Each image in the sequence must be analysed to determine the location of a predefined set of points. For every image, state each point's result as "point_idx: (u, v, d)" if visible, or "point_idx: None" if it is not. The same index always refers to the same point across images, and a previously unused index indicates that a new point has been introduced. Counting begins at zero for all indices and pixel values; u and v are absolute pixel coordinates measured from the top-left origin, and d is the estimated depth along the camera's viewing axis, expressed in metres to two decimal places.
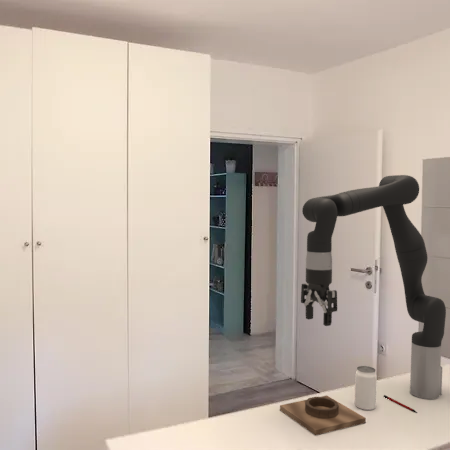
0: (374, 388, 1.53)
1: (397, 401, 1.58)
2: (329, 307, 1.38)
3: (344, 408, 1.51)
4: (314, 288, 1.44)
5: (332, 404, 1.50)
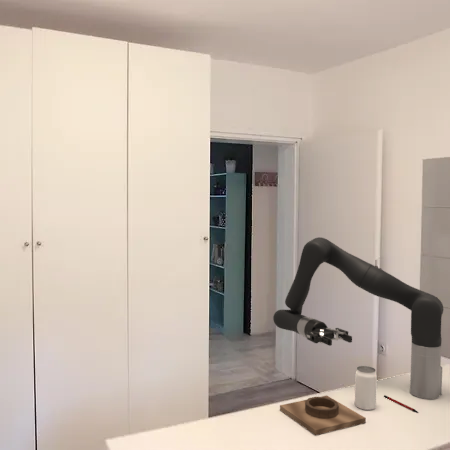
0: (374, 388, 1.53)
1: (397, 401, 1.59)
2: None
3: (344, 408, 1.51)
4: None
5: (332, 404, 1.50)
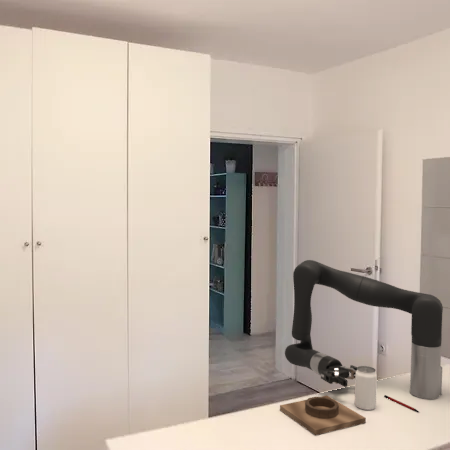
0: (374, 388, 1.53)
1: (398, 401, 1.59)
2: None
3: (344, 408, 1.51)
4: None
5: (332, 404, 1.50)
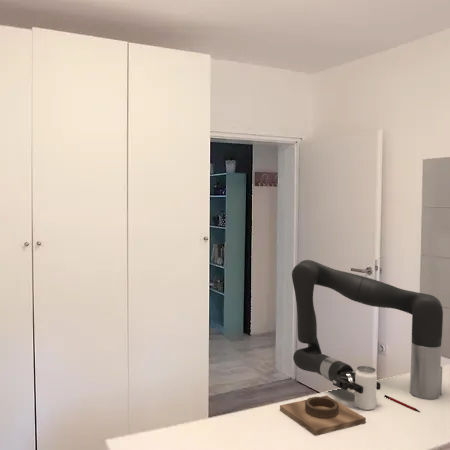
0: (374, 388, 1.53)
1: (399, 401, 1.59)
2: None
3: (344, 408, 1.51)
4: None
5: (332, 404, 1.50)
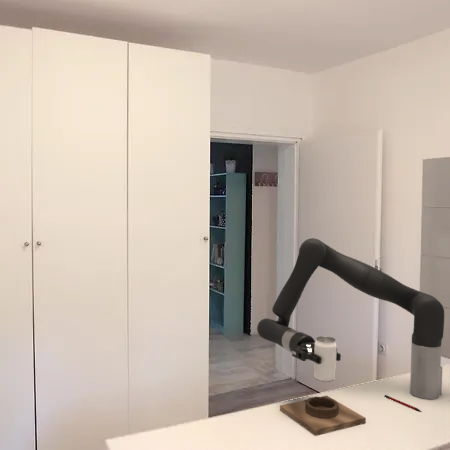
0: (333, 359, 1.46)
1: None
2: None
3: (344, 408, 1.51)
4: None
5: (332, 404, 1.50)
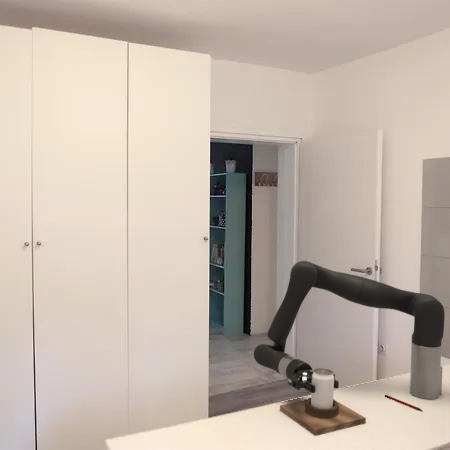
0: (330, 391, 1.46)
1: None
2: None
3: (344, 408, 1.51)
4: None
5: None
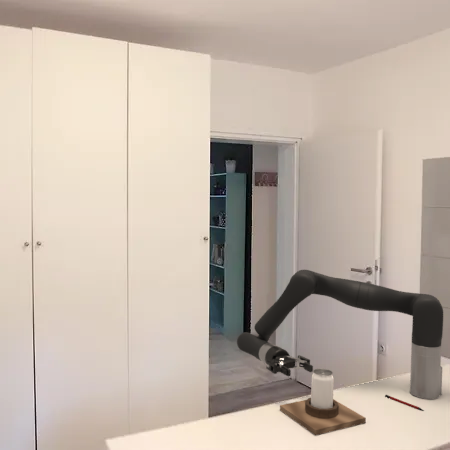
0: (330, 392, 1.46)
1: (400, 400, 1.59)
2: None
3: (344, 408, 1.51)
4: None
5: None
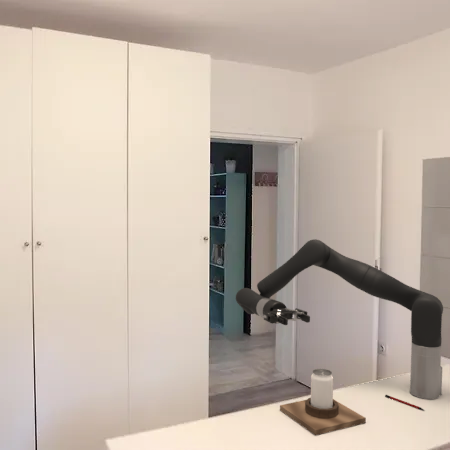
0: (330, 392, 1.46)
1: (401, 400, 1.59)
2: None
3: (344, 408, 1.51)
4: None
5: None
